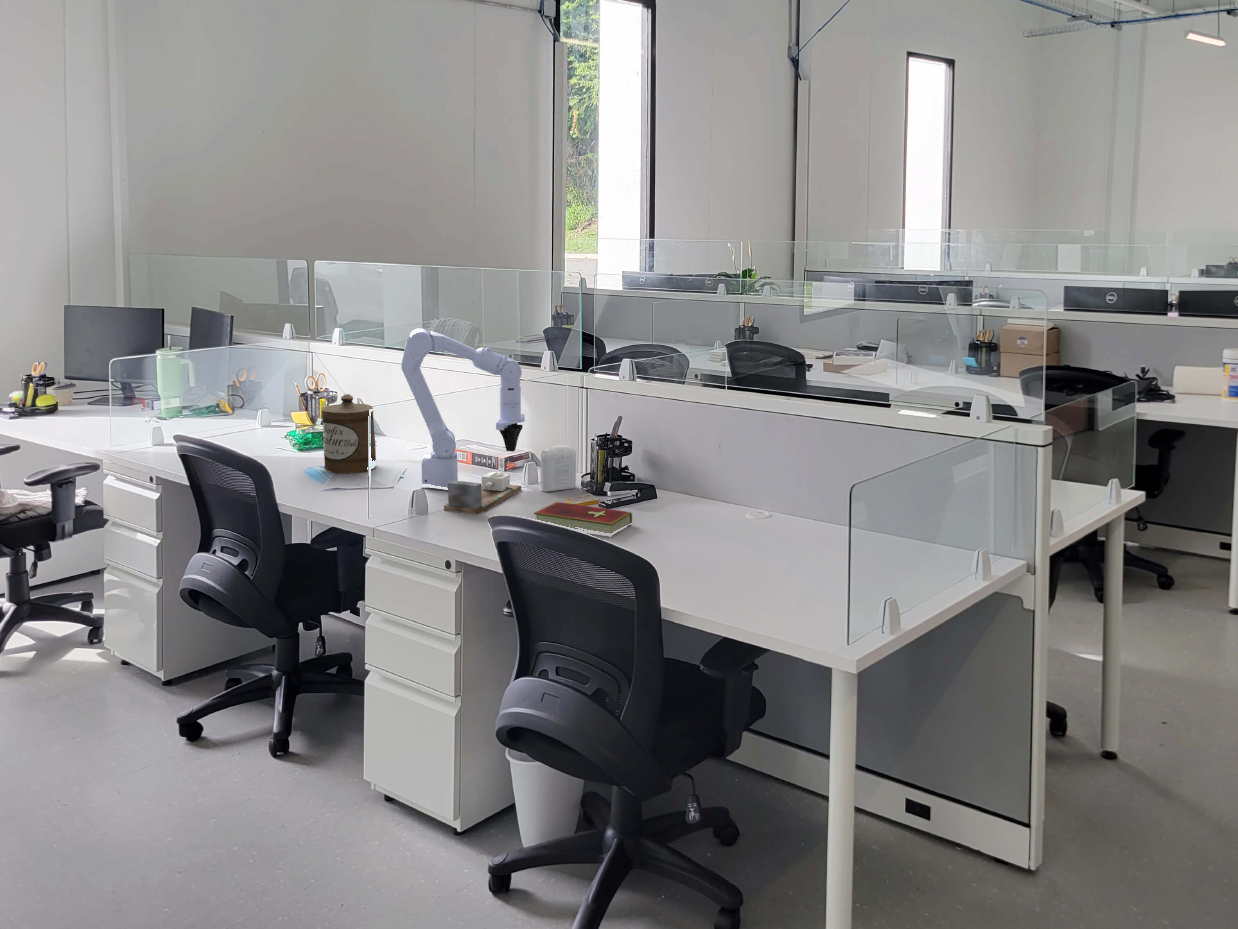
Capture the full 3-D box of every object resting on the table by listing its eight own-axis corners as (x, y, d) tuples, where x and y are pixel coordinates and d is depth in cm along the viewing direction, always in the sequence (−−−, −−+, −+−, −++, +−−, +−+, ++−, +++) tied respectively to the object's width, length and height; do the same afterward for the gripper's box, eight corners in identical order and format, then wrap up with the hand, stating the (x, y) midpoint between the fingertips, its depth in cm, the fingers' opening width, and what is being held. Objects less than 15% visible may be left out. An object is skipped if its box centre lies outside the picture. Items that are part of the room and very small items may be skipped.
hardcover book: (556, 516, 275) (556, 500, 274) (631, 527, 267) (632, 510, 266) (534, 528, 265) (533, 511, 264) (611, 539, 256) (611, 522, 255)
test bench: (443, 510, 277) (443, 483, 275) (488, 486, 301) (488, 461, 299) (479, 514, 274) (478, 487, 272) (521, 490, 298) (521, 464, 296)
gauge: (476, 491, 290) (476, 476, 289) (489, 484, 297) (489, 470, 296) (503, 494, 287) (503, 479, 286) (515, 487, 294) (515, 472, 294)
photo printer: (570, 485, 304) (570, 442, 301) (578, 488, 301) (578, 445, 298) (538, 489, 298) (538, 446, 296) (546, 493, 295) (546, 449, 292)
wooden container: (314, 469, 317) (310, 395, 312) (349, 459, 329) (346, 388, 324) (352, 476, 310) (348, 400, 305) (386, 466, 322) (384, 393, 317)
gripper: (512, 408, 290) (512, 457, 293) (534, 399, 303) (534, 446, 306) (488, 406, 292) (489, 455, 295) (511, 397, 305) (511, 444, 308)
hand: (510, 450), depth 301 cm, fingers closed
